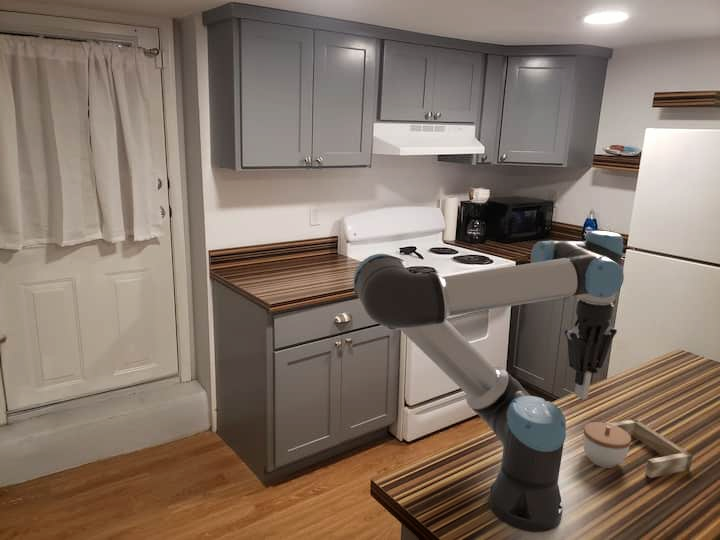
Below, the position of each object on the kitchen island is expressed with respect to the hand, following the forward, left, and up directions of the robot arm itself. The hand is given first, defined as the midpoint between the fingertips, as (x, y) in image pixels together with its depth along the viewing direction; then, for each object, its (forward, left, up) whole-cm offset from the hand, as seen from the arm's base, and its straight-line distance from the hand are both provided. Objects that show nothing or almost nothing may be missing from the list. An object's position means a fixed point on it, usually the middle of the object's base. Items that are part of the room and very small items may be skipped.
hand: (581, 396), depth 132 cm
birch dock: (+22, 0, -19) cm, 29 cm away
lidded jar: (+10, 0, -19) cm, 21 cm away
